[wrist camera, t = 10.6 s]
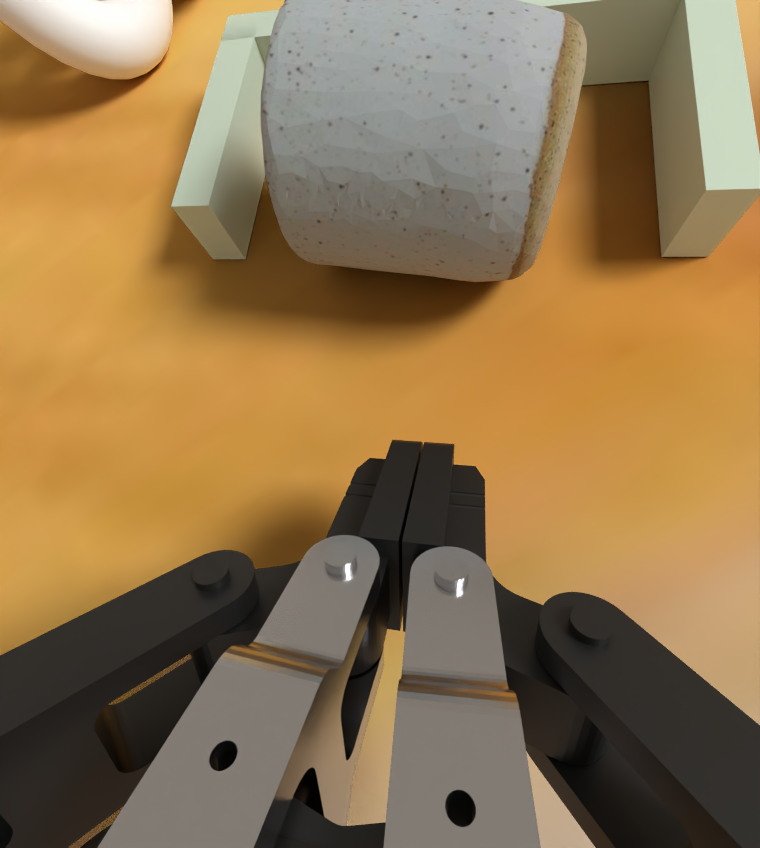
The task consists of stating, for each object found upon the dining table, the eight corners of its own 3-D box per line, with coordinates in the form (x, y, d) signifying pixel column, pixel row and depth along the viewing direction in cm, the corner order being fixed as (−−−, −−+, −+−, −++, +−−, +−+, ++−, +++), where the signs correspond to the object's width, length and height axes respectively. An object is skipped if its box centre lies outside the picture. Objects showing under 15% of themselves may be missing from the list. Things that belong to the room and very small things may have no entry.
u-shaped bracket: (708, 256, 16) (764, 188, 13) (212, 259, 19) (171, 206, 16) (686, 50, 18) (728, -43, 15) (257, 86, 22) (228, 15, 19)
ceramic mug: (525, 329, 16) (586, 128, 9) (312, 304, 18) (215, 118, 10) (559, 109, 19) (626, -180, 12) (373, 106, 21) (330, -146, 13)
